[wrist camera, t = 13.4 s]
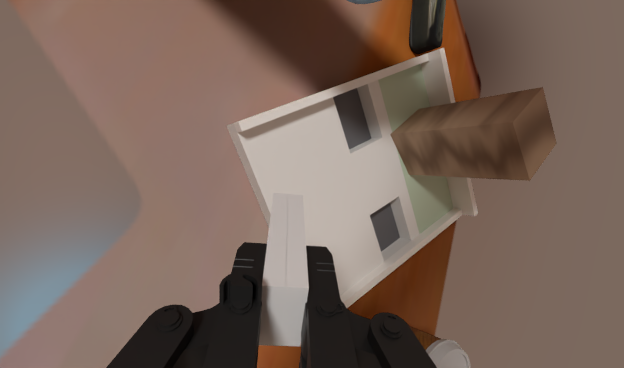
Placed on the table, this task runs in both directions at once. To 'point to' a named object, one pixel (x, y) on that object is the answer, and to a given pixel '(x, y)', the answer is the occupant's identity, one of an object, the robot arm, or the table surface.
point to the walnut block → (479, 137)
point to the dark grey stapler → (426, 25)
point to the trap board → (356, 169)
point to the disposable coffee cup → (442, 351)
